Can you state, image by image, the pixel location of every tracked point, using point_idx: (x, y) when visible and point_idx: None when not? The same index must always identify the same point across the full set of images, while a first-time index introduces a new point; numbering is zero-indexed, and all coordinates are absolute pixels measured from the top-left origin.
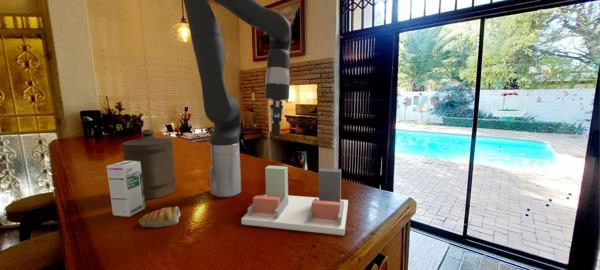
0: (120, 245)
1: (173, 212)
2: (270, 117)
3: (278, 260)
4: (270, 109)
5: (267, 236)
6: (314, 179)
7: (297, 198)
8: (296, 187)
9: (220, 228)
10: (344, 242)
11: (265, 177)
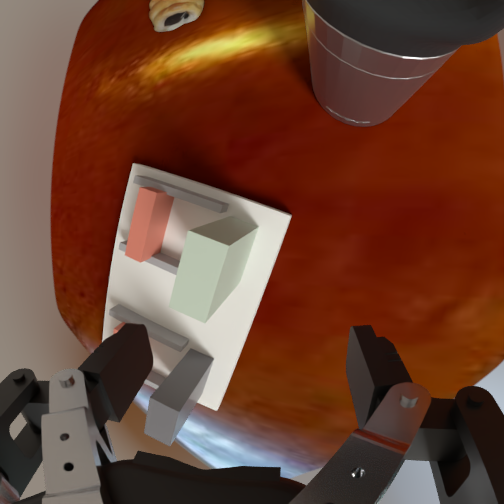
0: (115, 3)
1: (156, 17)
2: (353, 435)
3: (55, 240)
4: (80, 492)
5: (99, 222)
6: (426, 376)
7: (237, 308)
8: (372, 317)
9: (130, 124)
10: (92, 338)
11: (203, 225)
